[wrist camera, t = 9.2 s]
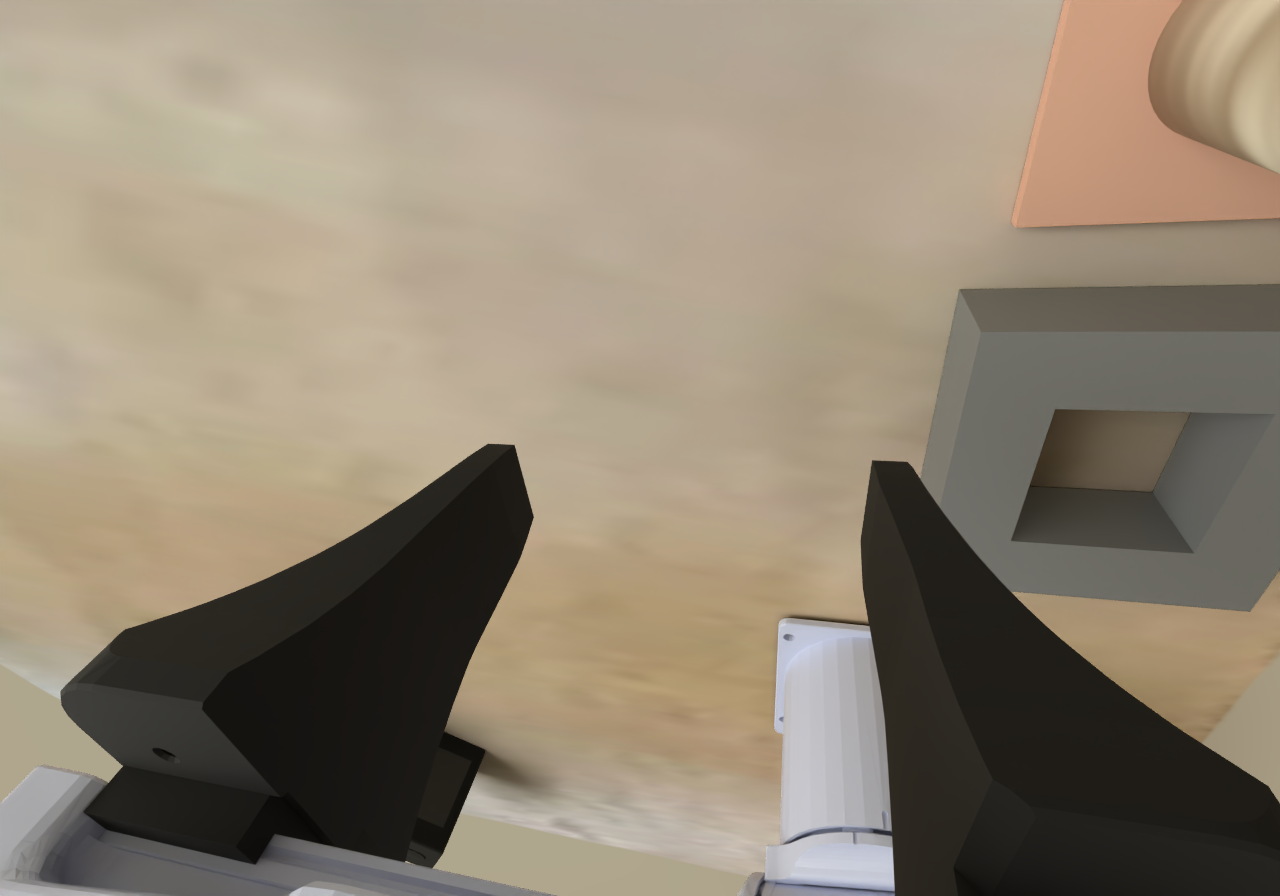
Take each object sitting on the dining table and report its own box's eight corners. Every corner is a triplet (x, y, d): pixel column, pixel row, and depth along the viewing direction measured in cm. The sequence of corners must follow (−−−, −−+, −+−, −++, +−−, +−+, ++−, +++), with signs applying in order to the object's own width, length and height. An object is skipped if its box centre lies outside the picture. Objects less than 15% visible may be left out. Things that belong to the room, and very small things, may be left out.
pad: (1355, 209, 16) (1369, 214, 16) (1011, 221, 18) (1015, 227, 17) (1601, -242, 11) (1629, -250, 11) (1103, -162, 13) (1111, -167, 13)
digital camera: (492, 743, 44) (447, 851, 39) (474, 771, 47) (431, 873, 42) (355, 684, 43) (290, 785, 38) (347, 716, 46) (285, 814, 41)
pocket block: (1203, 546, 23) (1249, 611, 20) (910, 527, 25) (921, 584, 23) (1358, 283, 17) (1449, 330, 15) (959, 289, 19) (981, 331, 17)
